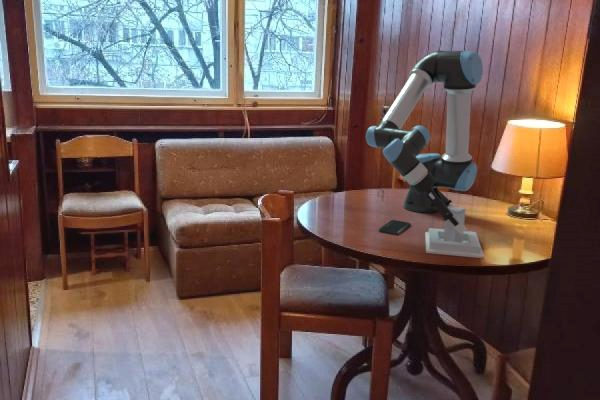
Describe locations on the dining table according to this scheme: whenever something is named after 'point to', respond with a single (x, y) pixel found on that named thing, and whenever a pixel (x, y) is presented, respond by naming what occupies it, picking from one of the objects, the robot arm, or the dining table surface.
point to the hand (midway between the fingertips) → (461, 225)
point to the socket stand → (453, 244)
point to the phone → (394, 227)
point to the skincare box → (449, 230)
